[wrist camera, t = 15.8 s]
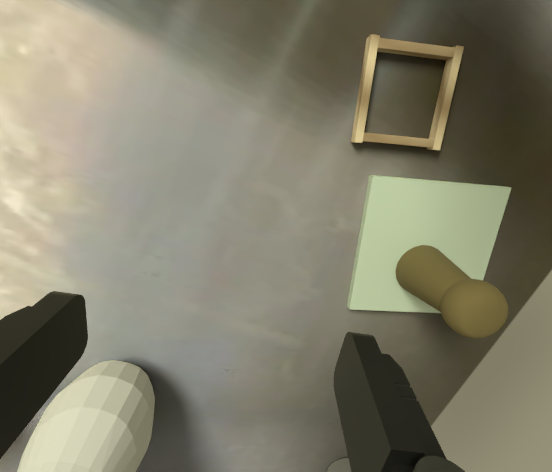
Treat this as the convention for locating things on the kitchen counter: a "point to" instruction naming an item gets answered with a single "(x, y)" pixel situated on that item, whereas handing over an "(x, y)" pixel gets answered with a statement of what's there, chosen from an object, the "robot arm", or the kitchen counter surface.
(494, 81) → the kitchen counter surface
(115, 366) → the soap bottle
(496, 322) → the cork
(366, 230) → the sage board
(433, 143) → the oak holder frame
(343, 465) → the lotion bottle
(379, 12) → the kitchen counter surface
